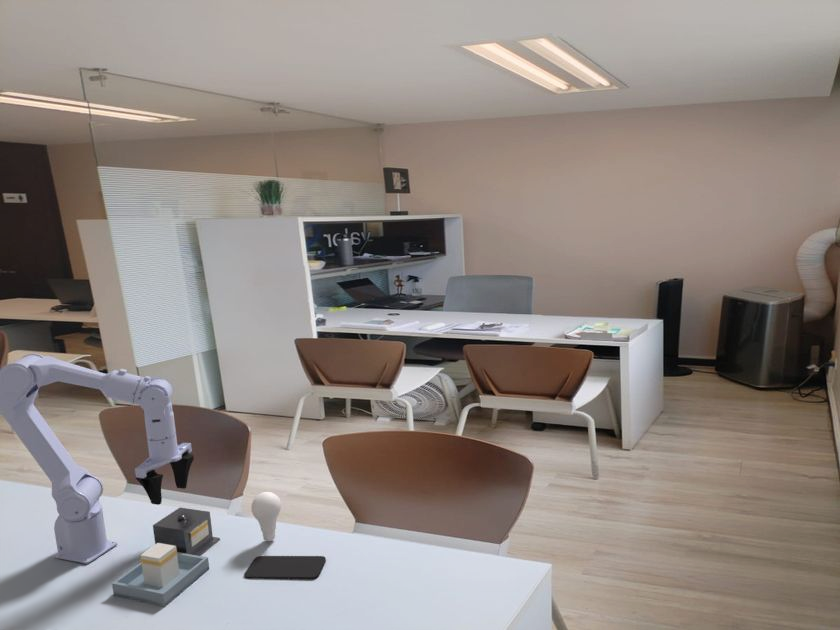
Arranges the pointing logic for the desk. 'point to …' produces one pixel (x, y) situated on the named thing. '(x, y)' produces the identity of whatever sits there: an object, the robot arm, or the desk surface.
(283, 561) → the phone
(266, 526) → the lightbulb
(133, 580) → the tray
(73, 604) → the desk surface
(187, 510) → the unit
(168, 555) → the part block
